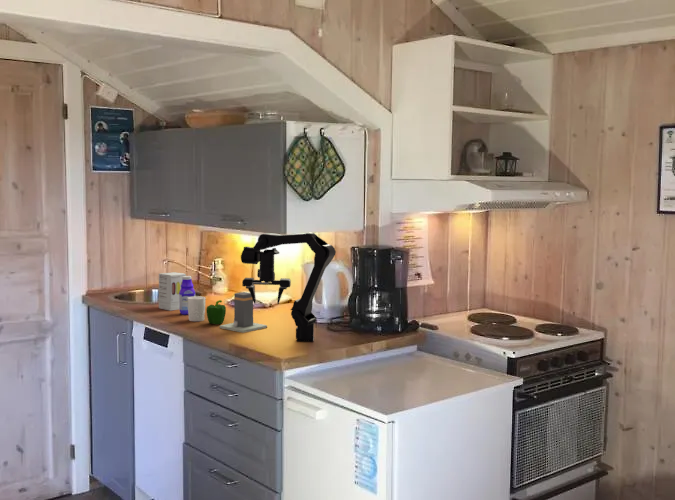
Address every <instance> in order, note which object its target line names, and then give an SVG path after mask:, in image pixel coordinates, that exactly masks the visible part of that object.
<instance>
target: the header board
mask: <svg viewBox="0 0 675 500" xmlns="http://www.w3.org/2000/svg"><path fill="white" fill-rule="evenodd" d="M266 327H267V328H268V325H267V324H263V323H258V322H253V325H252V326H247V327H240V326H238V321H234V320H233V322H232V323H226V324H219V329H223V330H228V331H232V332H236V333H237V332H238V333H243V334H244V333H249V332H253V331H258V329H259V330H262V328H263V329H267V328H266Z"/></svg>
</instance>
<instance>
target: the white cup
mask: <svg viewBox="0 0 675 500" xmlns="http://www.w3.org/2000/svg"><path fill="white" fill-rule="evenodd" d="M187 301H188V314H187V315H188V321H190V322H203V321H205V313H206V297H205V296H201V295H200V296H199V295H195V296H192V297H188V298H187Z"/></svg>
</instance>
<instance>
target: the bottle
mask: <svg viewBox="0 0 675 500" xmlns="http://www.w3.org/2000/svg"><path fill="white" fill-rule="evenodd" d="M192 296H196V291H195V288H194V283H193V281H192V276H191V275H186V276H183V277H182V284H181V290H180V292H179V309H178V310H179V313H180V314H181V315H189V314H188V301H187V298H188V297H192Z"/></svg>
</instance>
